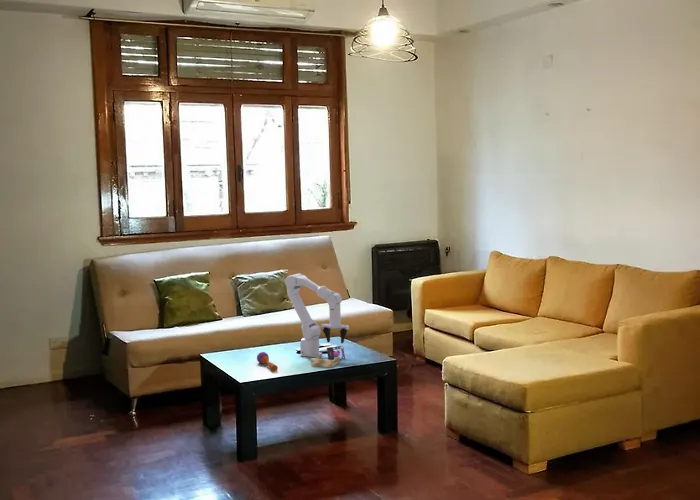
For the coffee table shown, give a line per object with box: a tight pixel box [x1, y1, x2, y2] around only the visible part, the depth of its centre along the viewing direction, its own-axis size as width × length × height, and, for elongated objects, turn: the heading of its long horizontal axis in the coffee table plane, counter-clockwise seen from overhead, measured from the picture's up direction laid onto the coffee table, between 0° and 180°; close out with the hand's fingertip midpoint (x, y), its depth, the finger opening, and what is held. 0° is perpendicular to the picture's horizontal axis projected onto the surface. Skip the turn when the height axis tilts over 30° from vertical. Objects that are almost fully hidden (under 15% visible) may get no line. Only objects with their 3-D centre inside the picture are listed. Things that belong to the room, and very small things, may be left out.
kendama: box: [256, 351, 279, 372], centre depth 382 cm, size 6×6×20 cm
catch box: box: [310, 354, 341, 368], centre depth 385 cm, size 11×12×4 cm
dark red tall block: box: [326, 345, 346, 360], centre depth 395 cm, size 7×5×9 cm
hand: (335, 342), depth 395 cm, fingers open, 7 cm apart
